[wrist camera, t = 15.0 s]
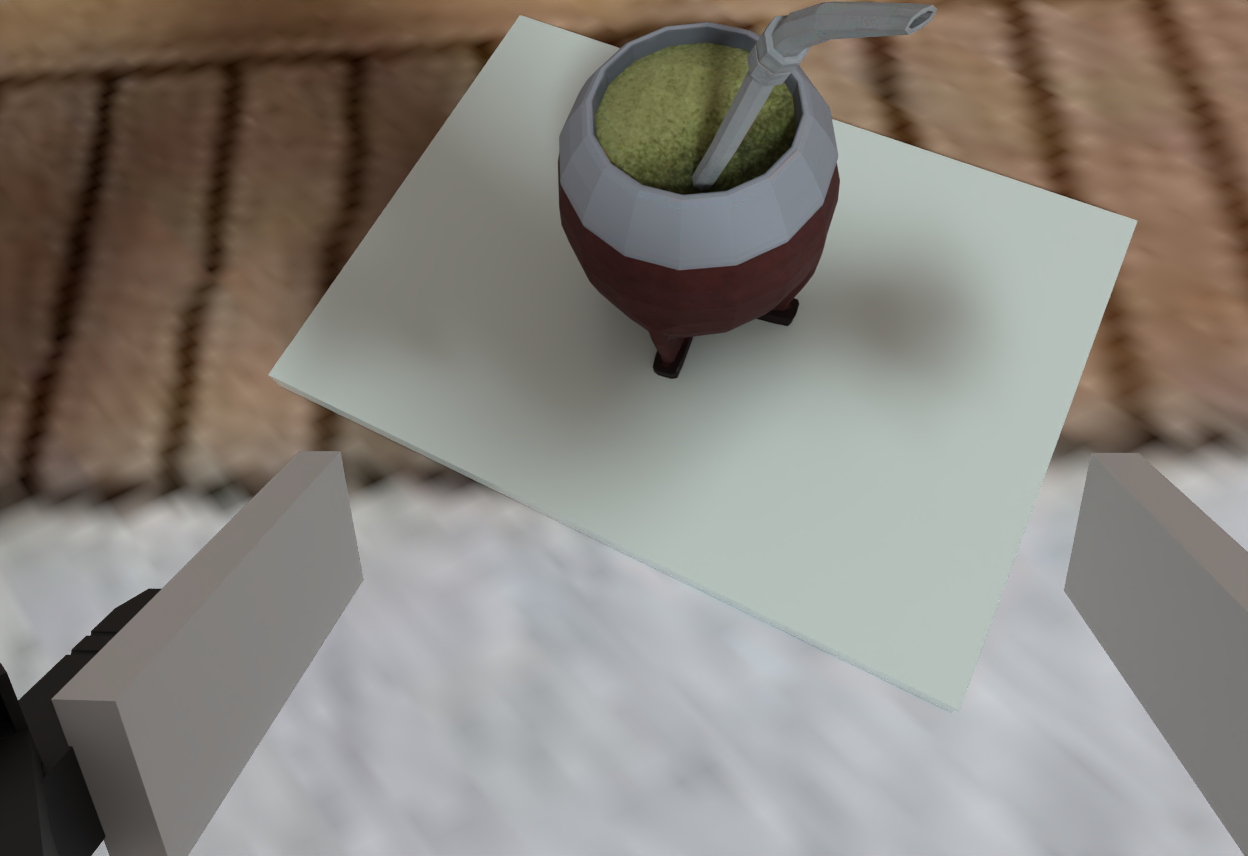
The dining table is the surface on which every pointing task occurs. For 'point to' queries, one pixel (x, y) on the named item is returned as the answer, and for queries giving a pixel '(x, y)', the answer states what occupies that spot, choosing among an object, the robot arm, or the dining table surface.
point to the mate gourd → (709, 171)
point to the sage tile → (735, 375)
